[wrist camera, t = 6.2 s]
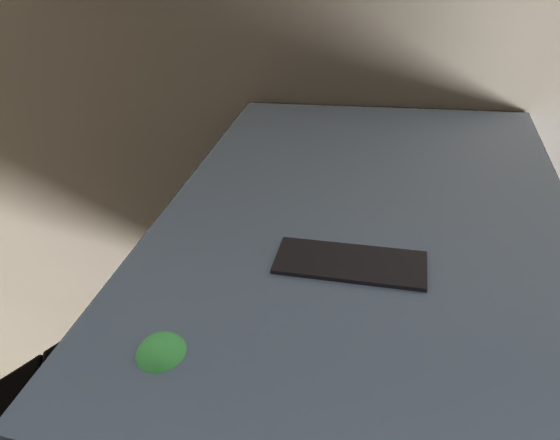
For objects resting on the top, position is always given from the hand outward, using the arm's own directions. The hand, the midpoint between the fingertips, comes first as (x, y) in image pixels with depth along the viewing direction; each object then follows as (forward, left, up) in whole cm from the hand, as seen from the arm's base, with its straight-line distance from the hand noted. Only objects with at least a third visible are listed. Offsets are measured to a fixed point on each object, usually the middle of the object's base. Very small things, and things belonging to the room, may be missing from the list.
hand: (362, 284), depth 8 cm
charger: (-1, 0, -2) cm, 2 cm away
